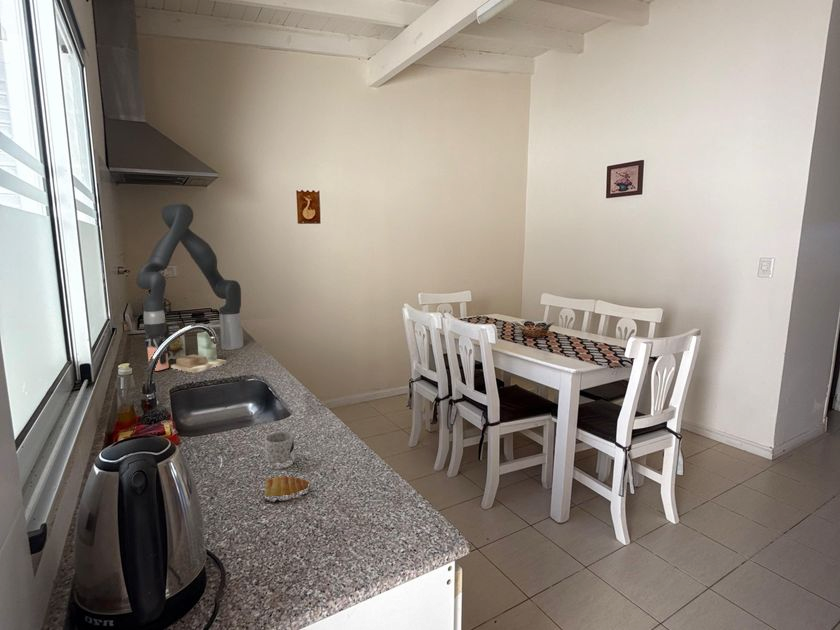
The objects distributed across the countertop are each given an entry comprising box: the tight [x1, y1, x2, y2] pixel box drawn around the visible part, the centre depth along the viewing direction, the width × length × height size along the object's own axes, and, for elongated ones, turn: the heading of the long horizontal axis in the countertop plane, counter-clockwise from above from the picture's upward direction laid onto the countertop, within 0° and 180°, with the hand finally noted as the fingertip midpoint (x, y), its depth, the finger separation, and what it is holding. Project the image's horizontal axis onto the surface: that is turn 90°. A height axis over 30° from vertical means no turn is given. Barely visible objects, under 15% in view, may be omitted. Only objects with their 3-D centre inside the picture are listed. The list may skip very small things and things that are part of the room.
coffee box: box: [164, 320, 187, 361], centre depth 214 cm, size 9×6×16 cm
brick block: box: [147, 346, 169, 372], centre depth 195 cm, size 5×5×9 cm
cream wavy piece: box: [170, 331, 227, 374], centre depth 201 cm, size 16×14×14 cm
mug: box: [264, 431, 295, 463], centre depth 118 cm, size 10×7×7 cm
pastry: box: [264, 475, 310, 497], centre depth 103 cm, size 9×7×4 cm
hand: (158, 362), depth 195 cm, fingers closed on brick block, 5 cm apart
